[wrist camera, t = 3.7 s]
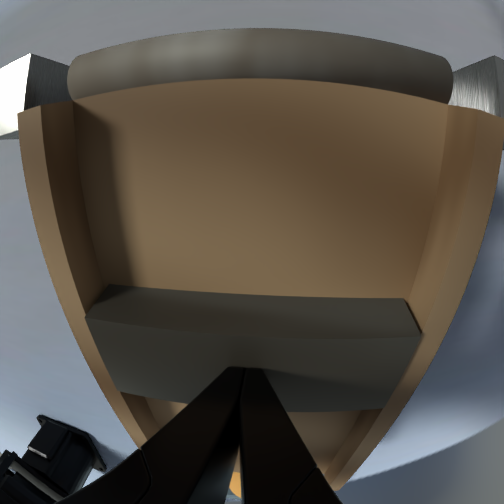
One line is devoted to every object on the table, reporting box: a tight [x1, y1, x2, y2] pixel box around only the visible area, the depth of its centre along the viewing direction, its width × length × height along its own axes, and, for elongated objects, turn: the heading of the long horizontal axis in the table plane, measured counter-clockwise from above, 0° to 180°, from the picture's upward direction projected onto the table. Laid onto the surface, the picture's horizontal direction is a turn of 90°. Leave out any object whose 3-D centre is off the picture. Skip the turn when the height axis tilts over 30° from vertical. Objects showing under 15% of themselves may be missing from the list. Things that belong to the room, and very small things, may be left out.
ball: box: [229, 472, 241, 498], centre depth 17 cm, size 4×4×4 cm
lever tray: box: [17, 28, 504, 491], centre depth 9 cm, size 19×10×3 cm, turn 179°
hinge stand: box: [0, 54, 504, 150], centre depth 9 cm, size 5×14×8 cm, turn 89°
